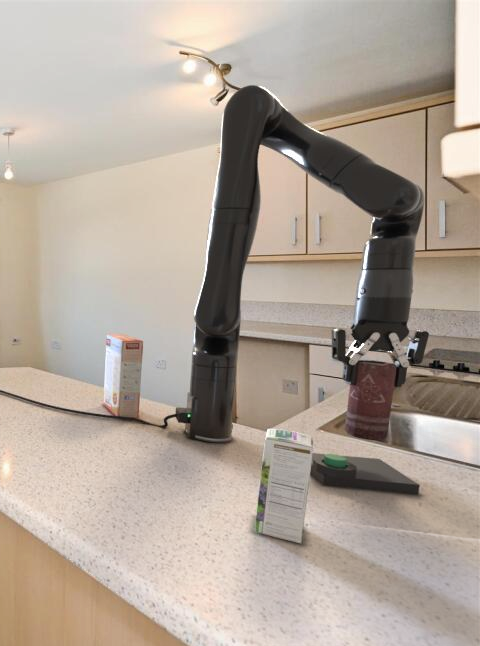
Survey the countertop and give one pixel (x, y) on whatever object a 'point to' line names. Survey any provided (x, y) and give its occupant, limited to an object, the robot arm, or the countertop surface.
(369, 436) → the can
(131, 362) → the cracker box
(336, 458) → the tare button
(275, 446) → the syrup box
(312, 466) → the scale
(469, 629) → the countertop surface
